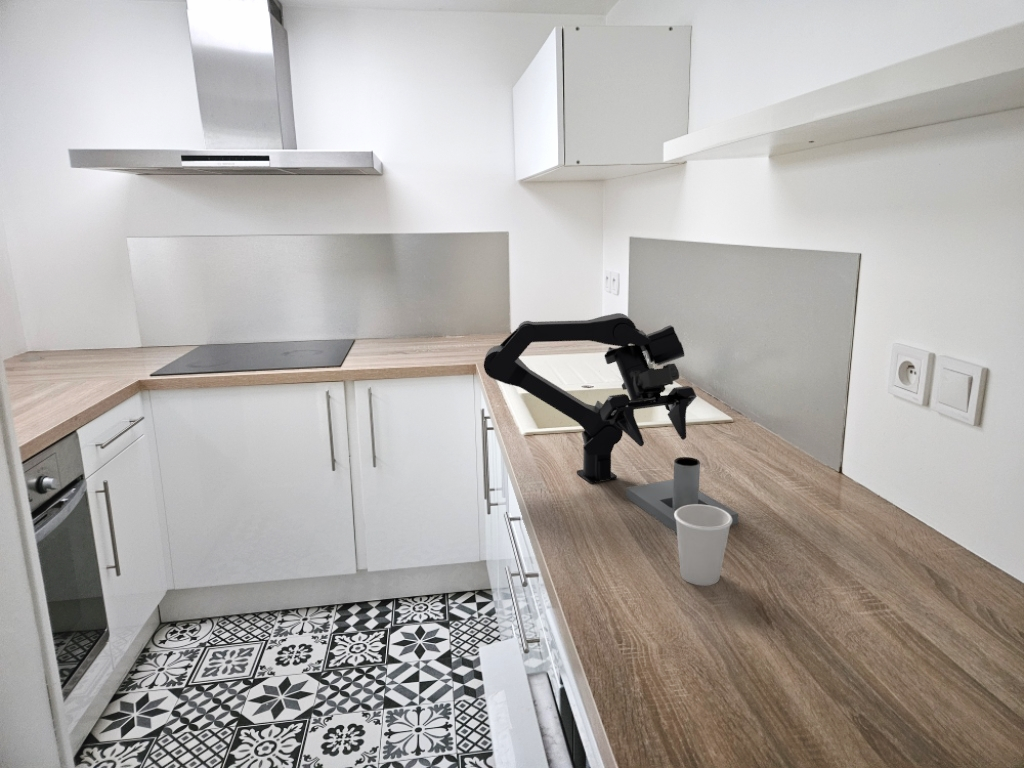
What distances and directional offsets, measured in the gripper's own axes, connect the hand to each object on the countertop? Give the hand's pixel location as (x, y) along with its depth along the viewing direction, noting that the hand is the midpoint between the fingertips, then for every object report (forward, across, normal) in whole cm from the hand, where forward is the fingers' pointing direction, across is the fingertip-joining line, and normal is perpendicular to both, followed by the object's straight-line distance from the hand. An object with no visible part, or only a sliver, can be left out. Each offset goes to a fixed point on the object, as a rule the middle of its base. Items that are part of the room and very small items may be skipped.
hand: (663, 442), depth 129 cm
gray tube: (+14, 0, +3) cm, 14 cm away
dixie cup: (+27, -10, -11) cm, 31 cm away
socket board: (+12, 0, +4) cm, 13 cm away
